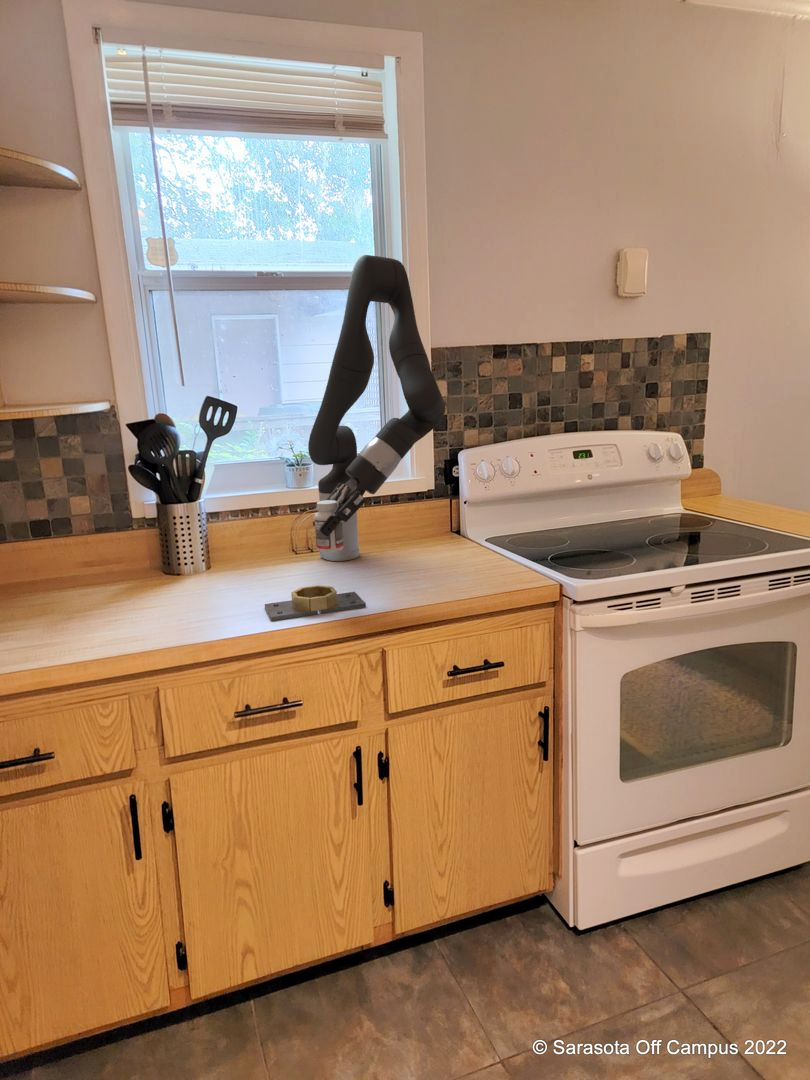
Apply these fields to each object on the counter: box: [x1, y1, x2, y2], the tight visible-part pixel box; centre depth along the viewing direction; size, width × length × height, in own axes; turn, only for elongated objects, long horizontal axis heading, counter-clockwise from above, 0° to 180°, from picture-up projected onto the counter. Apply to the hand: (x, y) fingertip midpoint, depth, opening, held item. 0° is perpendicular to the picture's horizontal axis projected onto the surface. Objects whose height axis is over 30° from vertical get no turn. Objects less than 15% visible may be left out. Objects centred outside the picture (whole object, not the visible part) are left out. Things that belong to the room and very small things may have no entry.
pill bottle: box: [313, 500, 343, 553], centre depth 144 cm, size 5×5×10 cm
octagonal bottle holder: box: [264, 584, 367, 622], centre depth 146 cm, size 19×9×3 cm, turn 109°
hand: (319, 530), depth 144 cm, fingers closed on pill bottle, 5 cm apart
